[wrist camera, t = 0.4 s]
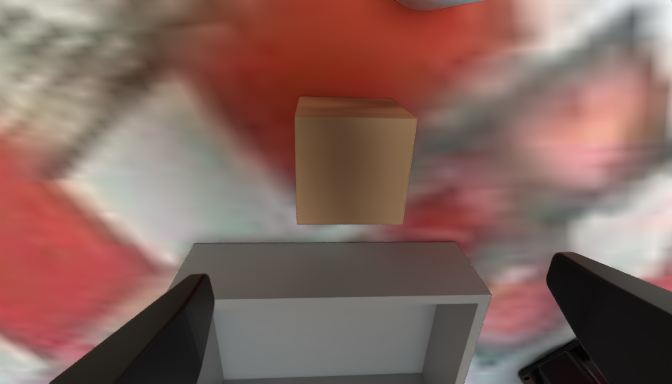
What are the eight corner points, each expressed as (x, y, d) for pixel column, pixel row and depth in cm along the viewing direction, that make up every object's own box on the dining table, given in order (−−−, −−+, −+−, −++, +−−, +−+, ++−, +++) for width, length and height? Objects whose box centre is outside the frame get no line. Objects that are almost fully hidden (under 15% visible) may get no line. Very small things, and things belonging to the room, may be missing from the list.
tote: (455, 241, 22) (491, 294, 18) (426, 371, 28) (447, 436, 23) (194, 243, 21) (161, 300, 16) (218, 378, 27) (199, 448, 22)
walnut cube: (391, 98, 18) (417, 119, 13) (382, 182, 20) (402, 224, 16) (299, 95, 18) (294, 116, 13) (300, 181, 20) (296, 224, 15)
